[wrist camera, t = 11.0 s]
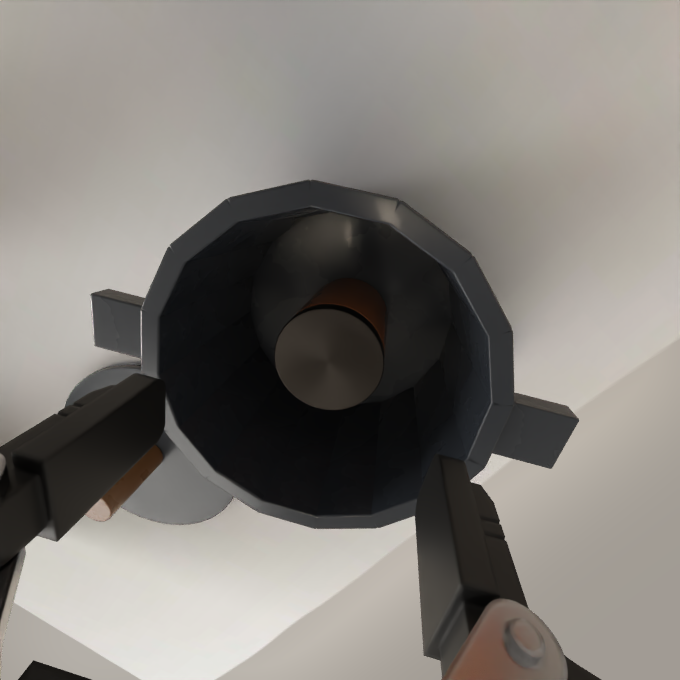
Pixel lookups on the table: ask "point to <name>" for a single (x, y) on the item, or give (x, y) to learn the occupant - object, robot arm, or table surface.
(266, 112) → the table surface
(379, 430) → the pot
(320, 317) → the tea tin
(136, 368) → the pot lid
